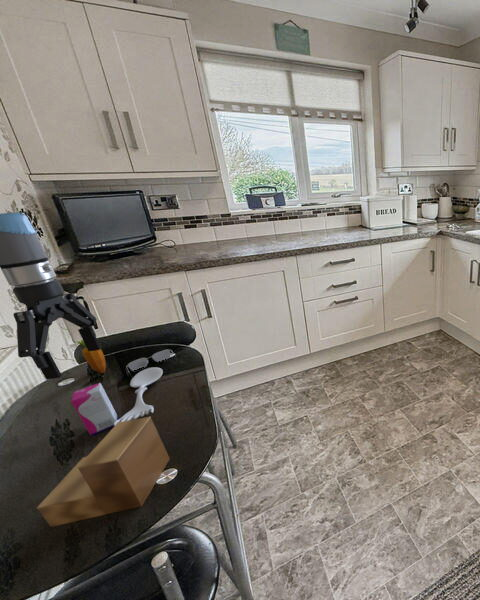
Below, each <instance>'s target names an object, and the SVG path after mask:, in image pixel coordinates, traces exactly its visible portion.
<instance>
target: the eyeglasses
mask: <svg viewBox="0 0 480 600" xmlns="http://www.w3.org/2000/svg"><path fill="white" fill-rule="evenodd" d="M171 353H172V354H173V356H174V357H175V360H176V363H177V364H178V363H179V362H178V359H177V356H176V355H175V353H174V352H173V350H172V349H163V350H160V351H156V352H155V353H153V354H152V355H151V356H149V357H140V358H138V359H135V360H133V361H131V362H129V363H127V365H126V366H125V367H126V369H127V370H129V369H130V370H131V372H135V371H134V370H137V369H139V368H142V367H144V368H146V367H147V366H148V364H149V359H150V358H152V360H153V361H154V362H156V363H159V361H160V362H163V361H162V360H164V361H166V360H168V359H170V358H171ZM165 359H166V360H165ZM128 368H129V369H128ZM142 369H143V368H142ZM137 371H138V370H137ZM128 374H129V375H130V377H131V379H132V378H133V377H134V376H132V374H131V373H130V372H128Z"/></svg>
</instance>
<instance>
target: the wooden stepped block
mask: <svg viewBox="0 0 480 600" xmlns="http://www.w3.org/2000/svg"><path fill="white" fill-rule="evenodd" d="M170 460H171V459H170V456H169V454H168V452H167V449H166V447H165V445H164V443H163V441H162V439H161V437H160V434H159V432H158V430H157V428H156V425H155V424H154V421H153V418H152V416H144V417H139V418H138V419H132V420H129V421H124V422H119V423H117V424H116V425H115V426H114V427H112V429H111V430H110V431H109V432H108V433H107V434H106V435H105V436H104V437H103V438H102V439H101V440H100V442H99V443H98V444H97V445H96V446H95V447H94V448H93V450H91V451H90V453H89V454H88V455H87V456H84V457H82V458H81V459H80V460H79V461H78V462H77V463H76V465H75V466H73V468H72V469H71V470H70V471H69V472H68V473H67V474H66V476H64V478H63V479H61V481H60V482H59V483H58V484H57V485H56V486H55V487H54V489H53V490H51V491H50V493H49V494H48V495H47V496H46V497H45V498H44V499H43V500H42V501H41V502H40V503H39V505H38V506H37V507H36V509H37V510H38V511H39V512H40V514H41V516H42V517H43V518H44V520H45V521H46V523H47V524H48V526H49V527H50V528H52V527H57V526H62V525H65V524H66V525H67V524H71V523H76V522H79V521H83V520H88V519H92V518H93V519H94V518H97V517H101V516H106V515H109V514H115V513H119V512H122V511H127V510H132V509H136V508H141V507H143V505H144V503H145V502H146V500H147V499H148V496H149V495H150V493H151V492H152V490H153V488H154V487H155V486H156V483H157V481H158V480H159V479H160V477H161V475H162V474H163V472H164V470H165V468H166V466H167V465H168V463H169V462H170Z"/></svg>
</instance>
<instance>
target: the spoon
mask: <svg viewBox="0 0 480 600" xmlns="http://www.w3.org/2000/svg"><path fill="white" fill-rule="evenodd" d="M163 373H164V371H163V369H162V368H160V367H156V366H155V367H154V366H153V367H147V368H144V369H143V370H141V371H139V372H138V373H136V374H135V375H134V376H132V377H133V378H132V377H131V380H130V382H129V385H130V387H132V388H135V389H136V390H135V391H134V393H135V394H136V399H135V404H134V406H133V407H132V408H131V409H130V410H129V411H128V412H126V413H125V414H124V415H122V417H120V418H118V420H117V421H115V422H114V426H115V425H116V424H117V423H119V422H124V421H129V420H134V419H140V418H144V417H145V416H148V415H149V414H150V413H151V414H153V413H154V411H155V408H154V405H151V404H147V403H145V402H144V399H143V394H144V393H145V391H147V390H148V386H150V385H152V384H153V383H155V382H157V381H158V380H159V379H160V378H161V377H162V375H163ZM137 388H138V389H137Z"/></svg>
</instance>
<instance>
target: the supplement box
mask: <svg viewBox="0 0 480 600" xmlns="http://www.w3.org/2000/svg"><path fill="white" fill-rule="evenodd" d="M70 402H71V404H72V405H73V407H74V409H75V412H77V414H78V416H79V418H80V420H81V422H82V423H83V425H84V426H85V429H86V430H87V432H88V434H89V436H90V437H93V436H95V435H97V434H101V433H102V432H105V431H107V430H109V429H111V428H112V429H113V428H114V422H115V421H117V420H119V418H118V417H119V416H118V414H117V412H116V410H115V408H114V406H113V404H112V402H111V400H110V399H109V396H108V395H107V393H106V391H105V388H104V386H103V385H102V383H101V382H98V383H95V384H92V385H89V386H86V387H84V388H81V389H78V390H74V391H73V392H72V397H71V400H70Z"/></svg>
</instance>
